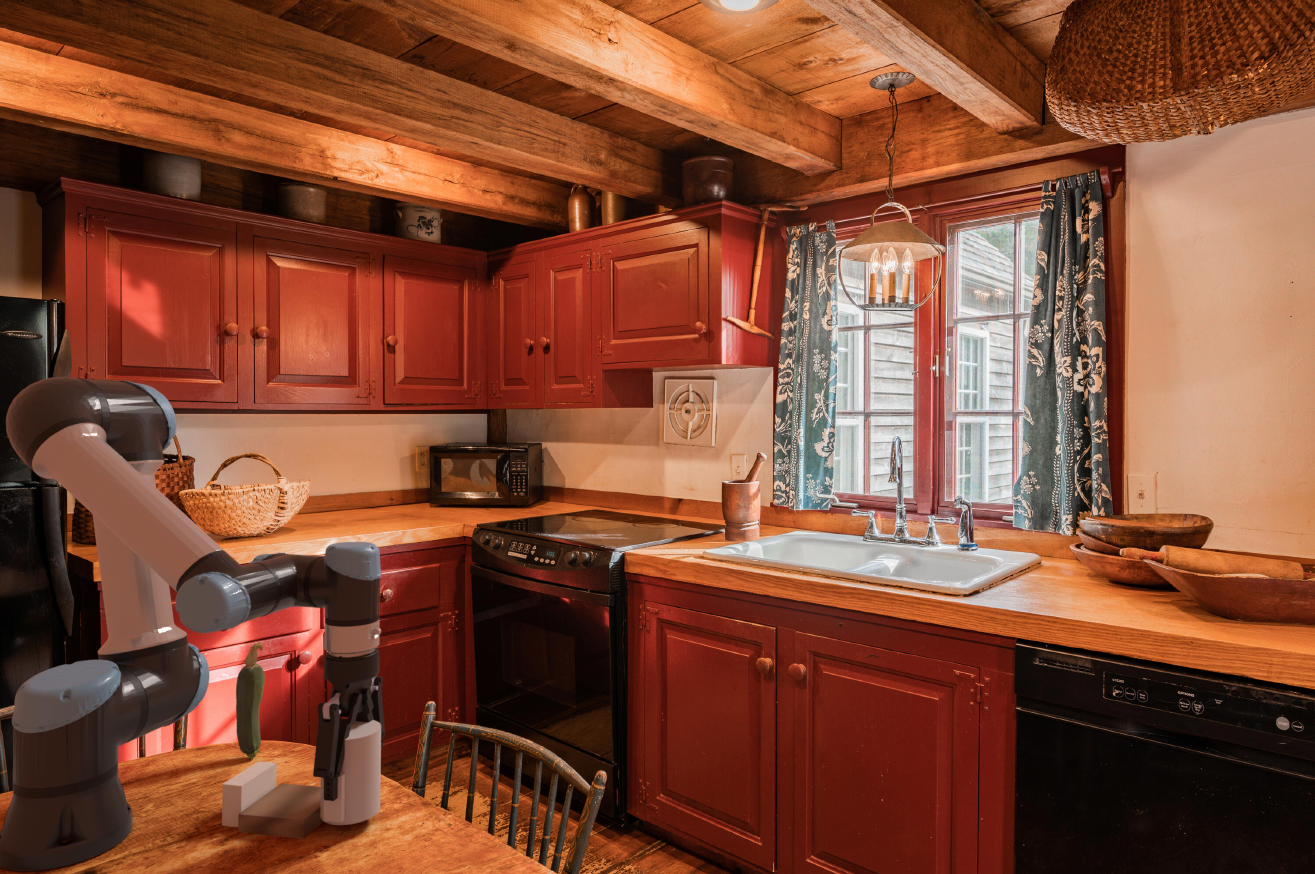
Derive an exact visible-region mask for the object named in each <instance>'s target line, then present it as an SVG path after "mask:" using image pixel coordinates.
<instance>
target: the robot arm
mask: <svg viewBox="0 0 1315 874" xmlns="http://www.w3.org/2000/svg"><path fill="white" fill-rule="evenodd" d="M5 418H6V419H5V426H6V427H5V430H6V435H7V437H8V439H9V442H10V443H9V444H10V445H11V447H12V449H13V450H14V451H15V452H16V455H18V457H19V458H20V459H21V461H23V462H24V464H26V466H27V467H29V468H30V469H31V470H32V471H33V472H34V473H35V474H36V475H37V476H39V477H40V478H43V479H45V480H46V479H47V480H48V479H49V480H56V482H58V484H60V485H61V486H62V487H63V488H64V489H66V491H68V493H69V494H70V495H71V496H72V497H74V498H75V499H76V500H77V501H78V502H79V503H80V504H82V506H84V507H85V508H86V510H88V511H89V512H90V513H91V514H92V520H93V528H94V534H95V535H94V536H95V544H96V551H97V559H98V567H99V576H100V583H101V587H102V588H101V591H102V597H103V605H104V612H105V619H106V627H107V628H106V629H107V636H108V637H107V640H106V641H105V642H104V644H102V646H101V647H100V648H99V649H98V650H97V656H98V659H88V660H79V661H75V662H73V663H71V664H66V663H65V664H61V665H58V666H55V667H51V668H48V669H46V670H44V671H41V672H39V673H38V674H35V675H33V676H32V677H30V678H29V679H27V680H26V681H25V682H23V683H22V684H21V685H20V687H19V688H18V689H17V691H16V694H15V697H14V708H13V709H14V710H13V713H12V716H11V725H12V739H13V740H12V744H13V745H12V758H13V759H12V760H13V761H12V765H13V766H12V796H11V797H12V798H11V801H10V804H9V806H8V808H7V811H6V813H5V814H6V815H5V817H4V820H3V825H2V829H1V830H0V868H1V869H4V870H5V869H6V870H9V871H14V872H15V871H16V872H34V871H35V872H36V871H37V872H39V871H44V870H52V869H58V868H61V867H67V866H69V865H74V864H78V863H80V862H83V861H86V860H89V859H92V858H94V857H96V856H99V855H101V854H104V853H105V852H107V851H109V850H111V849H113V848H114V847H116V846H118V845H119V844H121V843H122V842H123V841H124V840H125V839H126V838H128V836H130V834H131V832H132V830H133V809H132V807H131V805H130V804H129V802H128V801H127V797H126V793H125V791H124V790H125V789H124V787H123V785H122V782H121V780H120V777H119V747H121V746H122V745H126V744H128V743H130V742H132V741H134V740H137V739H139V738H140V737H143V736H146V735H148V734H150V733H152V732H155V731H157V730H159V729H161V728H162V727H163V728H164V727H167V726H171V725H172V724H174V723H176V722H178V721H179V720H180V719H181V718H183V717H185V716H188V715H189V714H190V713H192V712H193V711H195V709H196V708H197V707H198V706H199V705H200V703H201V702H202V701H203V700H204V698H205V696H206V694H207V691H208V687H209V684H210V667H209V663H208V660H207V658H206V656H205V655H204V653H200V649H199V648H198V646H196V645H194V644H192V643H189V641H188V634H187V632H186V631H185V630H183V629H182V628H180V627H179V626H177V625H176V624H175V621H174V614H173V607H172V597H171V590H170V587H171V588H172V589H173V590H174V591H175V592H177V593H176V596H175V611H176V612H177V613H178V615H179V620H180V622H181V623H182V625H183V626H185V627H186V628H187V629H188V630H190V631H192V632H195V633H199V634H209V633H215V632H220V631H225V630H230V629H234V628H235V627H238V626H240V625H241V624H244V623H246V622H250V621H253V620H255V619H258V618H262V617H265V616H268V615H271V614H274V613H277V612H280V611H283V610H286V609H290V608H295V607H296V608H313V609H314V608H316V609H324V637H323V639H324V640H323V641H324V642H323V649H324V650H325V651H326V653H325V655H324V656H323V657H324V660H323V661H324V663H323V667H324V670H323V674H324V675H323V676H324V677H323V678H324V679H325V680H326V681H327V682H329V683H331V685H332V689H331V693H330V697H329V698H330V699H329V700H328V701H326V702H320V703H319V704H318V705H317V714H318V716H317V717H318V723H317V733H316V743H315V753H314V762H313V773H312V775H313V777H314V778H320V779H321V778H324V821H331V822H343V821H344V816H345V774H342V773H341V771H342V766H343V761H344V757H345V739H347V738H348V737H349V733H350V728H351V726H352V725H354V724H355V721H357V722H371V721H372V720H375V721H377V722H379V723H380V724H381V748H383V746H384V743H385V741H384V740H385V739H384V737H385V736H386V730H385V729H386V728H385V716H384V707H383V706H384V705H383V695H382V689H383V676H378V675H379V673H380V668H381V667H380V664H381V662H380V661H381V660H380V653H381V652H380V650H379V649H378V646H380V635H381V633H382V629H381V628H380V624H381V623H380V622H381V621H380V615H381V614H380V608H381V607H380V604H381V602H380V601H381V599H380V598H381V597H380V596H381V576H382V575H383V574H382V569H381V555H380V553H381V552H380V549H379V547H378V546H377V545H376V544H375V543H372V542H367V541H343V542H342V541H341V542H334V543H332V544H329V545H328V546H327V547H326V549H325V551H324V552H325V553H324V555H308V554H293V553H292V554H291V553H286V552H277V553H263V554H261V553H260V554H258V555H256V556H255V557H254V558H253V559H252V561H250V562H249V563H247V564H241V563H239V562H238V561H237V560H236V559H235V558H234V557H232V556H231V555H230V554H229V553H228V552H226V551H225V550H224V549H223V548H222V547H221V546H220V545H219V544H218V543H217V542H216V541H215V540H213V538H212V537H210V536H209V535H208V533H206V532H205V531H203V530H202V528H201V527H199V525H197V524H196V523H195V522H194V521H193V520H192V519H190V517H189V516H187V515H186V514H185V513H184V512H183V511H182V509H180V508H179V507H178V506H176V505H175V504H174V503H173V502H172V501H171V500H170V499H169V498H168V497H166V495H164V494H163V493H162V492H161V491H160V490H159V489H158V488H157V483H156V477H155V476H156V473H157V471H158V470H159V469H160V468H161V467H162V466H163V465H164V463H165V457H164V451H165V450H167V448H169V447H170V446H171V444H172V443H173V441H172V439H173V438H175V437H176V433H177V418H176V413H175V411H174V408H173V407H172V404H171V403H170V401H169V399H167V397H166V396H165V395H164V394H163V393H161V392H160V391H158V390H157V389H156V388H154V387H152V386H151V385H147V384H145V383H144V384H143V383H137V382H133V381H129V380H124V379H123V380H112V379H109V380H108V379H95V378H94V379H92V378H77V377H70V376H54V377H46V378H44V379H41V380H40V379H39V381H35V382H34V383H31V384H29V385H27V386H26V387H25V388H23V389H22V390H20V392H19V393H18V394H17V395H16V396H15V397H14V398H13V400H12V402H11V403H10V405H9V407H8V409H7V413H6V417H5ZM383 739H384V740H383ZM324 821H323V822H324Z"/></svg>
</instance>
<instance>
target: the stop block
mask: <svg viewBox="0 0 1315 874" xmlns="http://www.w3.org/2000/svg"><path fill="white" fill-rule="evenodd" d="M276 787H277V762H270V761H269V762H268V761H257V762H255V763H253V764H252V765H251V766H249V767H248V768H246V769H244V770H243V771H241V772H240V773H238V774H237V775H234V776H233V777H231V778H229V779H228V780H227V781H225V782H223V783H222V794H221V795H222V799H221V800H222V801H221V802H222V803H221V804H222V809H221V814H222V815H221V826H223V827H232V828H238V815H239V813H241V812H242V811H244V810H245V809H246V808H248V807H249V806H251V805H252V804H253V803H255V802H256V801H258V800H259V799H260V798H262V797H263V796H265V795H266V794H267V793H269V792H270V791H272V790H273V789H274V788H276Z"/></svg>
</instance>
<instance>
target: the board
mask: <svg viewBox="0 0 1315 874" xmlns="http://www.w3.org/2000/svg"><path fill="white" fill-rule="evenodd" d="M320 802H321V786H316V785H315V786H314V785H305V784H292V783H280V784H279V785H276V788H274V789H273V790H272V791H270V792H269V793H267V794H266V795H265V796H263V797H262V798H260V799H259V800H258V801H256V802H255V803H253V804H252V805H251V806H249V807H248V808H246V809H245V810H244V811H242V812H241V813H239V815H238V827H237V829H238V831H237V832H238V833H243V834H244V833H245V834H252V835H253V834H255V835H264V836H273V837H274V836H275V837H281V838H282V837H284V838H294V839H301V840H302V839H305V838H306V837H308V835H310V834H311V833H312V832H313V831H314V830H316V829H317V827H319V826H320V825H321V824H322V823H324V821H323V820H322V819H321V817H320Z"/></svg>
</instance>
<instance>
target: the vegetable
mask: <svg viewBox="0 0 1315 874" xmlns="http://www.w3.org/2000/svg"><path fill="white" fill-rule="evenodd" d="M258 649H259V651H263V649H264V647H263V644H262V643H261V642H260V641H257V643H254V644H253V645H252V646H250V648H249V651H248V653H247V655H246V657H245V659H244V664H245V666H243V667H242V668H241V669H240V671H239V672H238V675H237V678H236V685H235V687H236V688H235V700H236V701H235V703H236V704H235V711H236V714H235V715H236V716H235V717H236V718H235V719H236V739H237V742H238V747H239V749H240V751H241V752H242V754H245V755H246V756H247V758H248V759H250V760H252V761H253V759H254V758H255V757H257V754H259V753H260V747H261V743H262V740H261V739H262V738H261V724H260V723H261V722H260V706H261V702H262V699H263V696H264V695H263V694H264V688H265V681H266V675H265V671H264V668H263V667H262V666H261V665H260V664H258V662H259V661H258V658H259V657H258V655H259V654H258Z"/></svg>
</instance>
